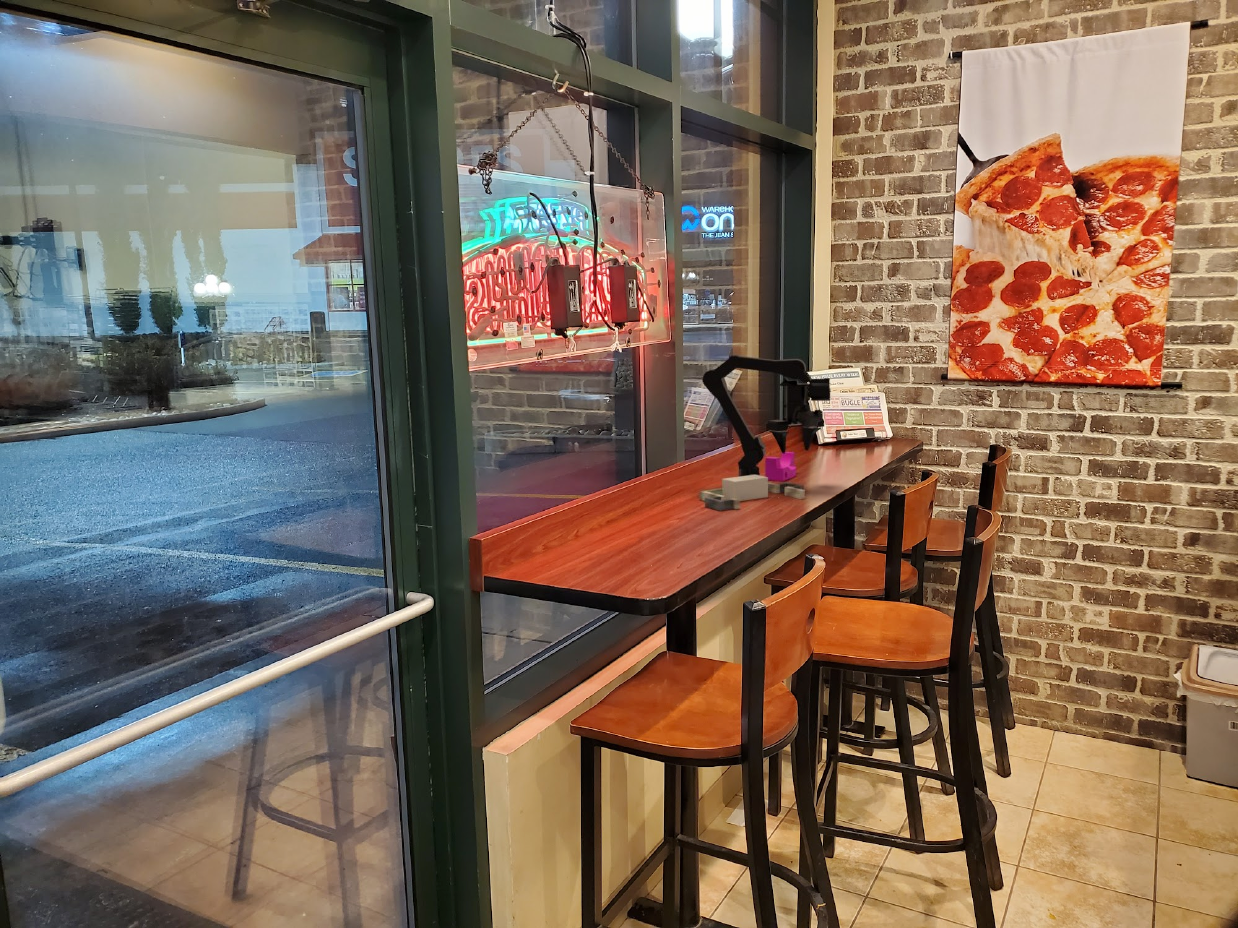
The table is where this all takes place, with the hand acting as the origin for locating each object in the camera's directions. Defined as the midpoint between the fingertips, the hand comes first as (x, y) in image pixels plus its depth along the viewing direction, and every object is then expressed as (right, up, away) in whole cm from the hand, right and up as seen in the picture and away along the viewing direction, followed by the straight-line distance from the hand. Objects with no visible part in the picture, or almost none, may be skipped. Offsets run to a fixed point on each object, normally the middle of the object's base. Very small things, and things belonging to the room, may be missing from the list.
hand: (795, 451), depth 285 cm
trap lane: (-15, -14, -15) cm, 26 cm away
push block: (-17, -14, -12) cm, 25 cm away
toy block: (0, -9, +19) cm, 21 cm away
